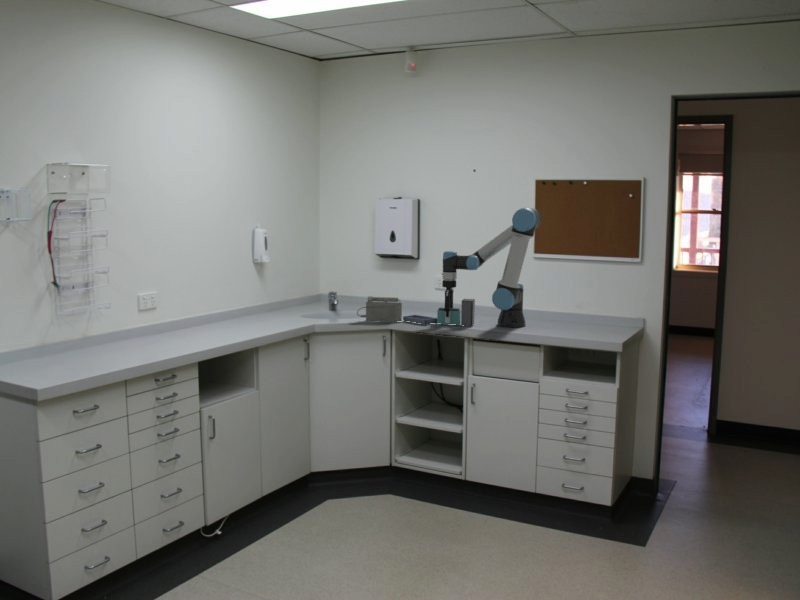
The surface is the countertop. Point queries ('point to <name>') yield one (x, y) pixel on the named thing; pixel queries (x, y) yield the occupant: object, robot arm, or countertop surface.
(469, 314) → the grey upright block
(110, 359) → the countertop surface
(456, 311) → the teal-edged grey panel
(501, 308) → the robot arm
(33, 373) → the countertop surface
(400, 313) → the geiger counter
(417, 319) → the tray
